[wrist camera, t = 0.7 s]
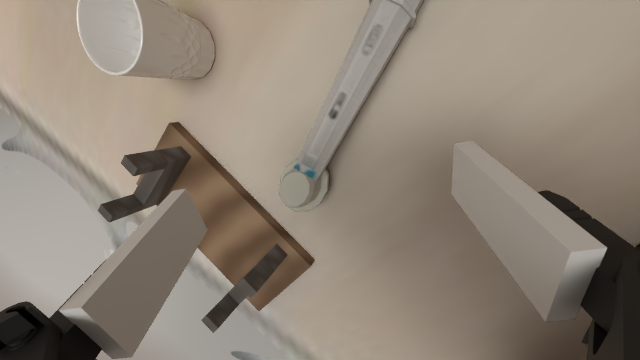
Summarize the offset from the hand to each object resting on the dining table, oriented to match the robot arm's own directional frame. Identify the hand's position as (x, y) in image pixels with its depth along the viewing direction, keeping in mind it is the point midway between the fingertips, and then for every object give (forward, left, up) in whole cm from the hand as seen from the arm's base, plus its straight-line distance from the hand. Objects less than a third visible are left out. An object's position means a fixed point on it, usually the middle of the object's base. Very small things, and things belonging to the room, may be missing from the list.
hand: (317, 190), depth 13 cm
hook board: (+7, +21, -17) cm, 28 cm away
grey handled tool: (+4, -2, -18) cm, 18 cm away
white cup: (+23, +6, -17) cm, 30 cm away
